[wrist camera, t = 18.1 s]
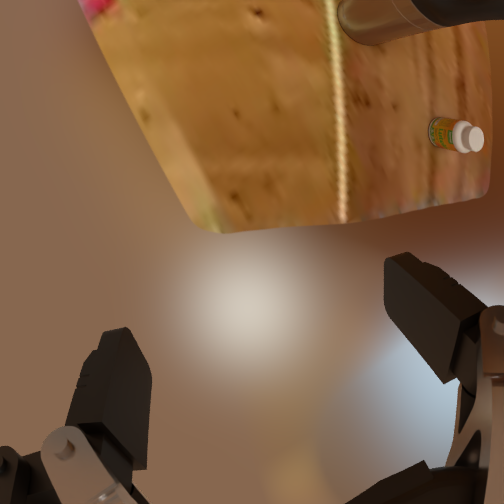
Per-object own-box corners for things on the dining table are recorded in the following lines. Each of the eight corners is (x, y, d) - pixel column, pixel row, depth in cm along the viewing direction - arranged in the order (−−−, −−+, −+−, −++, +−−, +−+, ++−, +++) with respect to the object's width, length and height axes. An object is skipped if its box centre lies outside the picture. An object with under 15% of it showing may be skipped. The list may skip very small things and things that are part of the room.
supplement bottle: (423, 125, 46) (462, 131, 38) (441, 112, 46) (480, 116, 37) (434, 152, 49) (472, 162, 40) (451, 138, 48) (489, 146, 39)
